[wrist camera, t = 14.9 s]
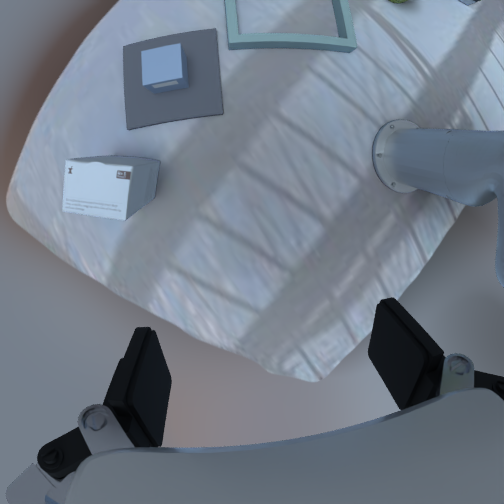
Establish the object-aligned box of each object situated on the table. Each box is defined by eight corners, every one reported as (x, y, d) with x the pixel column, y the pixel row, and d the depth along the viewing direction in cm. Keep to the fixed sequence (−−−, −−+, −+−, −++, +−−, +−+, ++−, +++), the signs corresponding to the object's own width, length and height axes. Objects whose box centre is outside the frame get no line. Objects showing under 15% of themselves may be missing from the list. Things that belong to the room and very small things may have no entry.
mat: (216, 30, 31) (215, 28, 30) (223, 114, 36) (223, 113, 35) (125, 48, 30) (123, 46, 29) (129, 130, 35) (127, 129, 34)
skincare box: (108, 191, 38) (58, 214, 25) (112, 152, 36) (61, 158, 23) (158, 198, 40) (125, 225, 26) (164, 158, 38) (131, 165, 24)
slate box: (186, 56, 31) (180, 43, 26) (188, 87, 33) (182, 77, 28) (152, 63, 31) (141, 51, 26) (154, 94, 33) (142, 85, 28)
